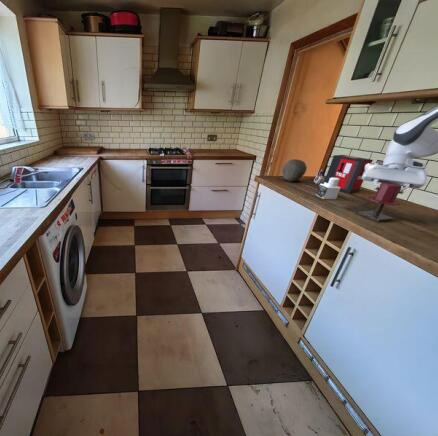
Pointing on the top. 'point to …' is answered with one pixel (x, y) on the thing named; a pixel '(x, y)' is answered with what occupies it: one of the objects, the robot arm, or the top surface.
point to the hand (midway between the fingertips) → (388, 191)
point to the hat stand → (376, 214)
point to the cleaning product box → (348, 172)
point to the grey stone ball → (294, 170)
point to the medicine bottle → (328, 188)
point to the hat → (387, 194)
